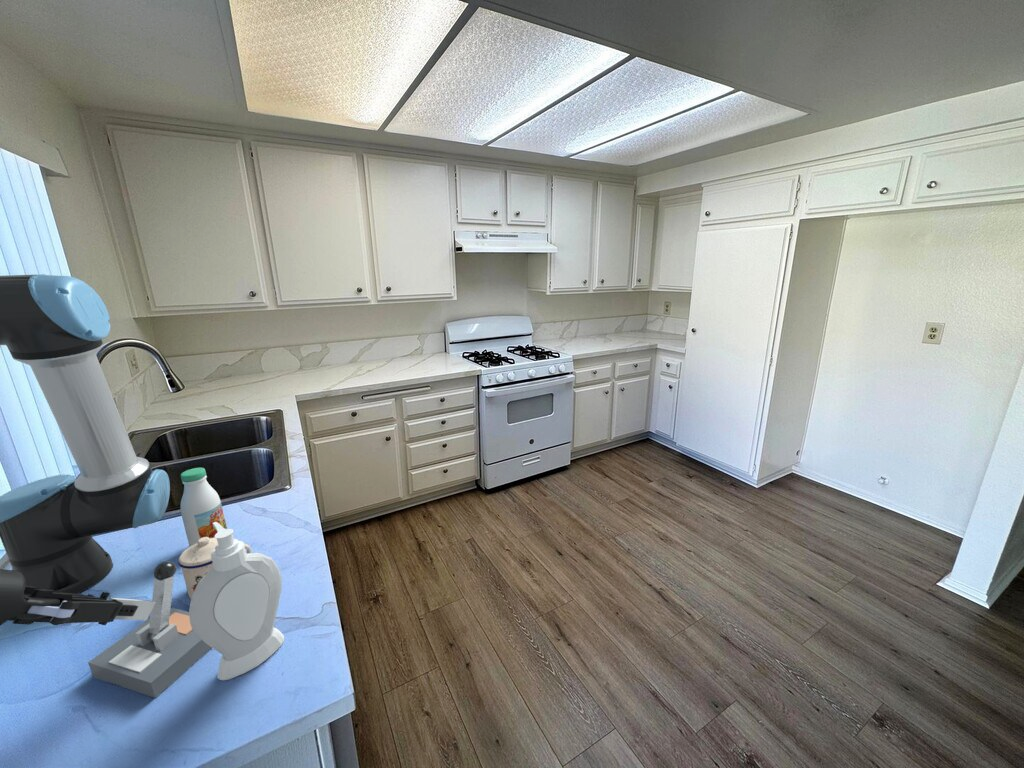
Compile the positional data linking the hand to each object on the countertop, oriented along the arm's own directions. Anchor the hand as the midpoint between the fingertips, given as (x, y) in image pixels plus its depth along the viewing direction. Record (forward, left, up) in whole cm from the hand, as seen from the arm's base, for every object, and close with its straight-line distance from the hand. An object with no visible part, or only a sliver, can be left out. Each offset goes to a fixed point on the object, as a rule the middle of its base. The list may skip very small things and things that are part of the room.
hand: (148, 610), depth 68 cm
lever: (0, 0, -6) cm, 6 cm away
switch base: (0, 0, -10) cm, 10 cm away
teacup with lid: (0, +17, -10) cm, 20 cm away
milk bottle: (-11, +31, -10) cm, 35 cm away
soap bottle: (+15, -1, -10) cm, 18 cm away
